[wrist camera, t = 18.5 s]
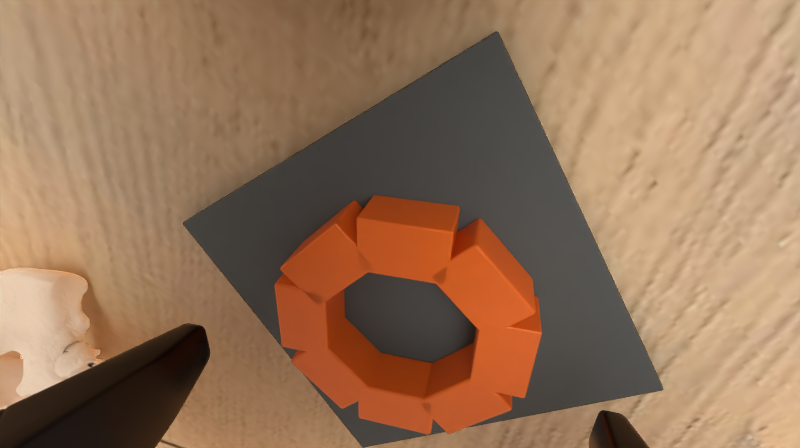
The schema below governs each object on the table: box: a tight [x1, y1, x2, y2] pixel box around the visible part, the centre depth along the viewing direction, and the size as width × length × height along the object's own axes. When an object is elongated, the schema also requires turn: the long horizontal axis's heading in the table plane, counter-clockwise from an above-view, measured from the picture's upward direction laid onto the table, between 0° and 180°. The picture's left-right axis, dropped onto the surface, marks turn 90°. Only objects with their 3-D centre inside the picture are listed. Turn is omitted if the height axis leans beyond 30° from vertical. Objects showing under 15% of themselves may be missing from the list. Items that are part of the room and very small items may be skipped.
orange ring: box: [275, 195, 542, 434], centre depth 11 cm, size 7×7×1 cm
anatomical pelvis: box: [0, 267, 105, 410], centre depth 15 cm, size 8×4×7 cm
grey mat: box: [183, 32, 663, 447], centre depth 12 cm, size 10×10×1 cm
